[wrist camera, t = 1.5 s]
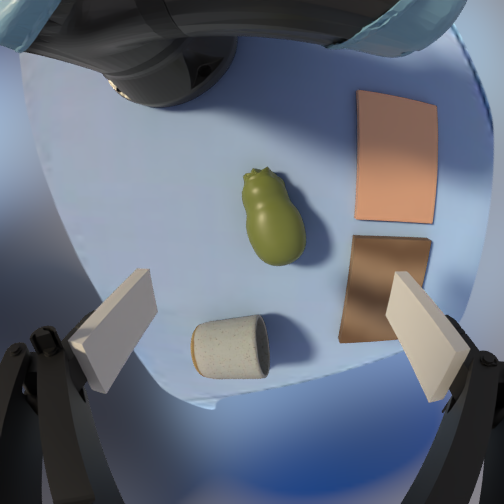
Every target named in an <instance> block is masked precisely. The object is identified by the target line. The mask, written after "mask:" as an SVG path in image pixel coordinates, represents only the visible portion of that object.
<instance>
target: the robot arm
mask: <svg viewBox="0 0 504 504" xmlns="http://www.w3.org/2000/svg"><path fill="white" fill-rule="evenodd" d="M466 2H467V0H0V45H1V46H4V47H7V48H10V49H12V50H14V51H15V52H18V53H22V52H28V53H32V54H37V55H41V56H45V57H49V58H53V59H57V60H61V61H64V62H68V63H71V64H75V65H78V66H82V67H85V68H88V69H91V70H94V71H97V72H100V73H102V74H103V76H104V77H105V78H106V79H108V81H109V83H110V84H111V86H112V87H113V88H114V90H115V91H116V92H117V93H118V94H120V95H121V96H122V97H124V98H126V99H127V100H129V101H132V102H134V103H138V104H141V105H144V106H149V107H169V106H175V105H179V104H182V103H185V102H187V101H190V100H192V99H194V98H196V97H198V96H199V95H201V94H203V93H204V92H206V91H207V90H208V89H210V88H211V87H212V86H213V85H214V84H215V83H216V82H217V81H218V80H219V79H220V78H221V77H222V76H223V75H224V73H225V72H226V71H227V69H228V68H229V66H230V64H231V62H232V60H233V58H234V55H235V52H236V48H237V36H250V37H266V38H277V39H286V40H294V41H301V42H307V43H313V44H319V45H321V46H323V47H325V48H328V49H333V50H337V49H349V50H355V51H360V52H364V53H369V54H373V55H377V56H382V57H390V58H393V57H403V56H406V55H409V54H411V53H413V52H414V51H420V50H422V49H424V48H426V47H428V46H429V45H430V44H432V43H433V42H435V41H436V40H437V39H439V38H440V37H441V36H442V35H443V34H444V33H445V32H446V31H447V30H448V29H449V28H450V27H451V25H452V24H453V23H454V22H455V20H456V19H457V17H458V16H459V14H460V13H461V11H462V10H463V8H464V6H465V4H466ZM157 312H158V310H157V305H156V301H155V296H154V291H153V286H152V281H151V275H150V270H149V269H138V268H137V269H136V270H135V271H134V272H133V273H132V274H131V275H130V276H129V277H128V278H127V279H126V280H125V281H124V282H123V283H122V284H121V285H120V286H119V287H118V288H117V289H116V290H115V291H114V292H113V293H112V294H111V295H110V296H109V297H108V298H107V299H106V300H105V301H104V302H103V303H102V304H101V305H100V306H99V307H98V308H97V310H93V311H92V312H90V313H88V314H87V315H85V316H84V318H83V319H82V320H81V321H80V323H78V324H77V325H76V326H75V328H73V329H72V330H71V331H70V332H69V333H68V335H67V336H66V337H65V338H64V339H63V340H62V341H61V340H60V338H59V336H58V334H57V331H56V329H55V328H54V327H52V326H44V327H41V328H38V329H37V330H36V331H34V332H33V333H32V334H31V336H30V341H31V343H32V345H33V347H34V349H35V351H36V352H29V350H28V348H27V346H26V344H24V343H20V342H19V343H15V344H13V345H11V346H10V347H9V348H8V349H7V351H6V352H5V354H4V357H3V359H2V361H1V363H0V504H42V488H41V487H42V458H44V464H45V469H46V473H47V478H48V483H49V487H50V491H51V495H52V499H53V503H54V504H125V503H124V501H123V499H122V497H121V495H120V493H119V490H118V488H117V486H116V483H115V481H114V478H113V476H112V473H111V471H110V468H109V466H108V463H107V460H106V458H105V455H104V452H103V449H102V446H101V444H100V440H99V437H98V434H97V430H96V427H95V424H94V420H93V417H92V413H91V409H90V405H89V401H88V396H87V392H86V390H85V388H84V385H85V383H86V382H87V381H88V383H89V384H90V386H91V388H92V390H95V391H98V392H101V393H105V394H106V393H107V392H108V390H109V388H110V387H111V385H112V383H113V382H114V380H115V378H116V377H117V375H118V374H119V372H120V370H121V369H122V367H123V365H124V364H125V362H126V361H127V359H128V357H129V356H130V354H131V353H132V351H133V349H134V348H135V346H136V345H137V343H138V342H139V340H140V338H141V337H142V335H143V334H144V332H145V331H146V329H147V328H148V326H149V325H150V323H151V321H152V320H153V318H154V317H155V315H156V314H157ZM385 316H386V317H387V319H388V321H389V323H390V325H391V326H392V328H393V330H394V332H395V334H396V336H397V338H398V340H399V342H400V343H401V345H402V347H403V349H404V351H405V353H406V355H407V357H408V359H409V361H410V363H411V365H412V367H413V369H414V372H415V374H416V375H417V378H418V380H419V382H420V384H421V386H422V388H423V391H424V393H425V395H426V397H427V400H428V402H433V401H437V400H441V399H443V398H444V397H445V395H446V393H447V391H448V390H450V392H451V394H452V396H451V398H450V400H449V401H448V403H447V404H446V406H445V407H444V409H443V410H442V413H443V412H444V411H445V413H444V416H443V419H442V422H441V424H440V427H439V430H438V432H437V434H436V437H435V440H434V441H433V444H432V446H431V448H430V451H429V453H428V455H427V457H426V459H425V461H424V463H423V465H422V467H421V469H420V471H419V473H418V475H417V477H416V479H415V480H414V482H413V484H412V486H411V487H410V489H409V491H408V492H407V494H406V496H405V497H404V499H403V501H402V502H401V504H468V503H469V501H470V498H471V496H472V493H473V491H474V488H475V485H476V483H477V480H478V477H479V474H480V471H481V467H482V464H483V461H484V470H483V481H482V488H481V495H480V501H479V504H504V362H500V361H498V359H497V358H496V356H495V355H493V354H492V353H490V352H488V351H479V350H478V348H477V347H476V346H475V344H474V343H473V342H472V340H471V339H470V338H469V336H468V335H467V334H465V331H464V330H463V329H461V327H460V325H459V324H458V323H457V321H456V320H454V319H453V318H452V317H450V316H449V315H444V314H443V312H442V311H441V310H440V309H439V308H438V306H437V305H436V304H435V303H434V302H433V300H432V299H431V298H430V297H429V296H428V294H427V293H426V292H425V291H424V290H423V289H422V288H421V286H420V285H419V284H418V283H417V282H416V281H415V280H414V278H413V277H412V276H411V275H410V274H409V273H408V272H407V271H401V272H395V275H394V280H393V284H392V289H391V294H390V298H389V303H388V307H387V311H386V315H385ZM22 386H23V387H24V389H25V392H24V394H23V393H22Z"/></svg>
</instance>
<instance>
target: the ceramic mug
mask: <svg viewBox="0 0 504 504" xmlns="http://www.w3.org/2000/svg"><path fill="white" fill-rule="evenodd" d="M191 356H192V360H193V364H194V366H195V368H196V370H197V371H198V372H199V374H200V375H202V376H204V377H207V378H212V379H261V378H266V377H267V375H268V373H269V367H270V352H269V341H268V336H267V330H266V326H265V323H264V320H263V318H262V317H261V316H260V315H252V316H246V317H239V318H231V319H225V320H216V321H209V322H206V323H202V324H200V325H198V326H197V327H196V329H195V330H194V332H193V335H192V338H191Z"/></svg>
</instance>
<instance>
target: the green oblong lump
mask: <svg viewBox="0 0 504 504" xmlns="http://www.w3.org/2000/svg"><path fill="white" fill-rule="evenodd" d="M254 171H255V172H254ZM243 178H244V188H243V191H242V201H243V204H244V207H245V210H246V214H247V220H246V229H247V234H248V238H249V240H250V243H251V245H252V247H253V249H254V251H255V252H256V254H257V255H258V257H259V258H260V259H261V260H262V261H264V262H265V263H267V264H269V265H273V266H284V265H287V264H290V263H292V262H294V261H295V260H297V259H298V258H299V257H300V256H301V255H302V253H303V251H304V249H305V246H306V232H305V227H304V223H303V220H302V218H301V215H300V213H299V211H298V210H297V208H296V207H295V206H294V205H293V204H292V203H291V201H290V199H289V196H288V193H287V191H286V188H285V183H284V181H283V180H282V179H281V178H280V177H278V176H277V175H276V174H275V173H274V172H272V171H271V170H270V169H269V168H268V167H266V168H264V169H263V170H259V169H255V168H253V169H252V171H251V173H246V174H245V175H244V176H243Z"/></svg>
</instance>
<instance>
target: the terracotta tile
mask: <svg viewBox="0 0 504 504" xmlns="http://www.w3.org/2000/svg"><path fill="white" fill-rule="evenodd" d="M356 99H357V182H356V201H355V216H354V218H355V219H360V220H381V221H400V222H416V223H431V224H432V222H433V214H434V205H435V195H436V183H437V165H438V118H437V106H435V105H432V104H428V103H424V102H420V101H416V100H412V99H407V98H403V97H398V96H393V95H388V94H382V93H376V92H370V91H363V90H357V91H356Z"/></svg>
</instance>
